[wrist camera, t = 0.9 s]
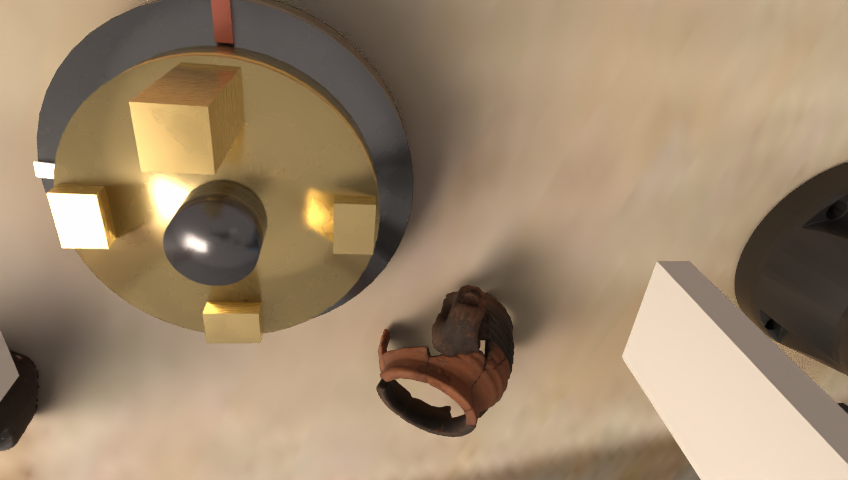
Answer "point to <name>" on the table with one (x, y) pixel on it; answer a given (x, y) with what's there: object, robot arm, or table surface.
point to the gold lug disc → (218, 162)
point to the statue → (18, 403)
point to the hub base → (266, 40)
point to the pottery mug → (453, 364)
